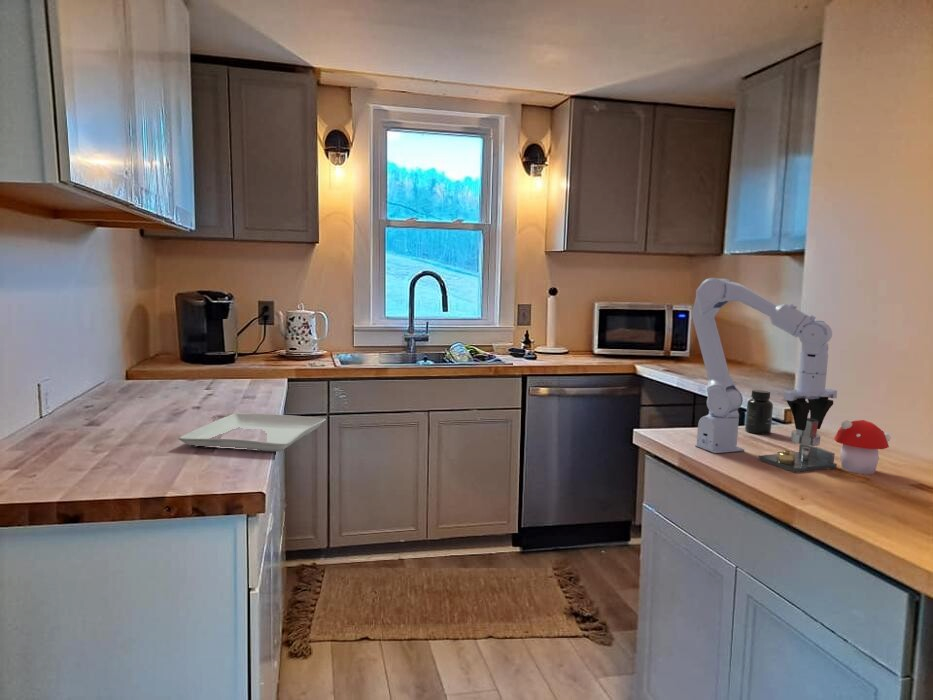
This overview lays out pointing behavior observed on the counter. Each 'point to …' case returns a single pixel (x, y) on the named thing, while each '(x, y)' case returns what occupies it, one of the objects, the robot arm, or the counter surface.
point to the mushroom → (861, 445)
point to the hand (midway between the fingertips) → (807, 428)
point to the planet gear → (807, 434)
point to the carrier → (802, 459)
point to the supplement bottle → (759, 413)
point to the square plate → (276, 426)
